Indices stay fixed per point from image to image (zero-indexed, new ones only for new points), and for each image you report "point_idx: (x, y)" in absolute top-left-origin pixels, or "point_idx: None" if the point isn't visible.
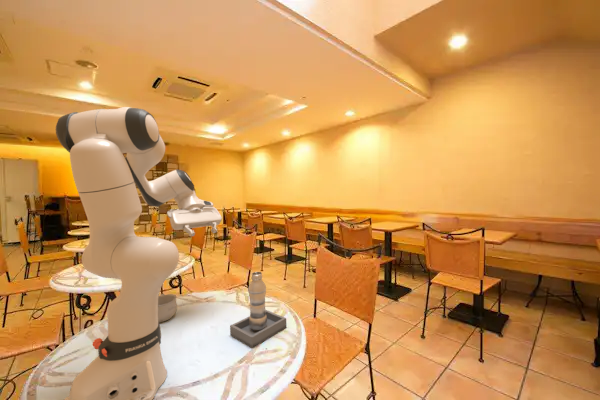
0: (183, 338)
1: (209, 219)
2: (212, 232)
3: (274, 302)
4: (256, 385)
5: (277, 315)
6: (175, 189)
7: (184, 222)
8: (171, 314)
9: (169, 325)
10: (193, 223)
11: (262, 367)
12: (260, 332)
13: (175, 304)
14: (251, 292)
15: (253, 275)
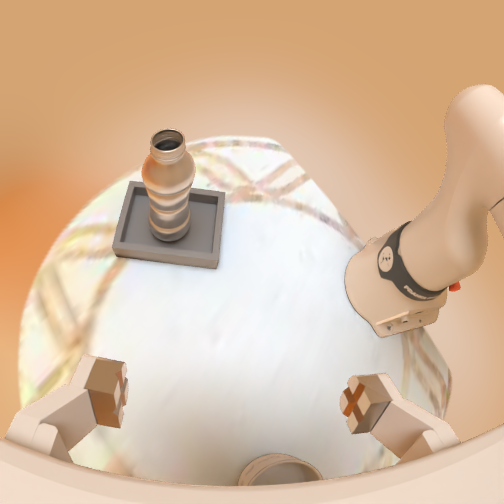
0: (284, 347)
1: (83, 487)
2: (126, 395)
3: (38, 289)
4: (275, 155)
5: (126, 202)
6: None
7: (485, 442)
8: (265, 455)
9: (276, 432)
10: (384, 470)
11: (247, 165)
12: (202, 189)
13: (254, 468)
14: (195, 170)
15: (184, 140)
